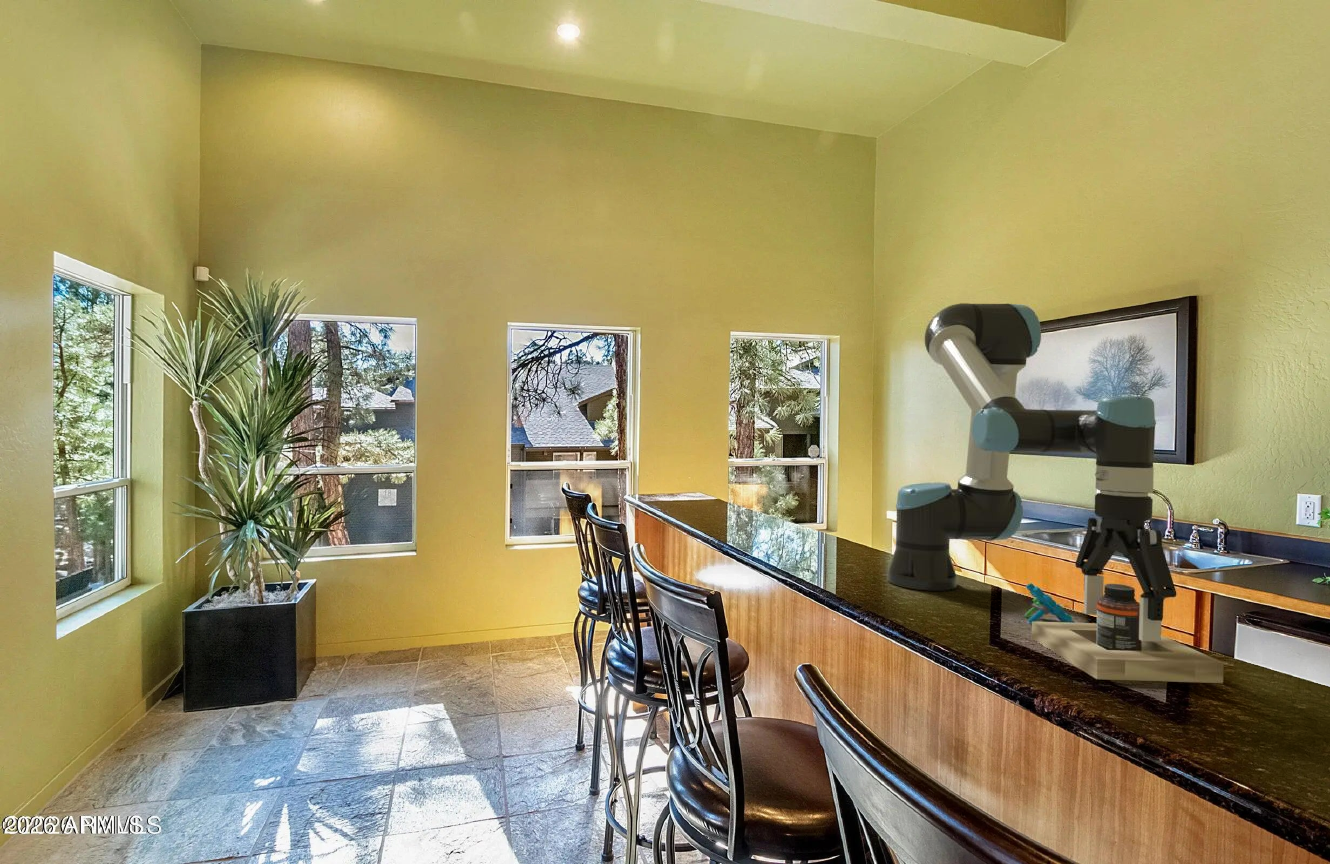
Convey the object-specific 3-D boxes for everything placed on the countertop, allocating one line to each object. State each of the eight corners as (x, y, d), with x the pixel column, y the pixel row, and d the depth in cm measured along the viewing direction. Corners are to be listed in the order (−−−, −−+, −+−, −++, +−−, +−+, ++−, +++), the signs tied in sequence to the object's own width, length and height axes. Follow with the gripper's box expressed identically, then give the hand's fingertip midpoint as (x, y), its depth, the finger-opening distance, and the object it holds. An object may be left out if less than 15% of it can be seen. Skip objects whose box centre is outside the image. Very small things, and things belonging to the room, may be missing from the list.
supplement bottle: (1124, 651, 107) (1126, 582, 107) (1150, 664, 101) (1152, 591, 101) (1087, 650, 107) (1089, 581, 107) (1111, 663, 101) (1113, 590, 101)
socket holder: (1031, 638, 113) (1031, 621, 113) (1137, 641, 113) (1137, 624, 113) (1096, 679, 95) (1097, 658, 95) (1223, 683, 95) (1223, 662, 95)
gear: (1086, 626, 115) (1041, 582, 118) (1061, 648, 116) (1016, 604, 118) (1064, 617, 126) (1023, 577, 129) (1040, 637, 127) (1000, 597, 129)
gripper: (1054, 485, 116) (1051, 604, 116) (1155, 502, 91) (1151, 653, 91) (1097, 486, 116) (1094, 605, 116) (1210, 503, 91) (1206, 654, 91)
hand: (1119, 626), depth 104 cm, fingers open, 13 cm apart
